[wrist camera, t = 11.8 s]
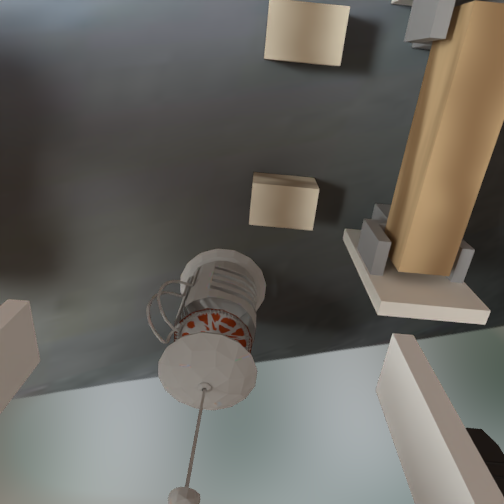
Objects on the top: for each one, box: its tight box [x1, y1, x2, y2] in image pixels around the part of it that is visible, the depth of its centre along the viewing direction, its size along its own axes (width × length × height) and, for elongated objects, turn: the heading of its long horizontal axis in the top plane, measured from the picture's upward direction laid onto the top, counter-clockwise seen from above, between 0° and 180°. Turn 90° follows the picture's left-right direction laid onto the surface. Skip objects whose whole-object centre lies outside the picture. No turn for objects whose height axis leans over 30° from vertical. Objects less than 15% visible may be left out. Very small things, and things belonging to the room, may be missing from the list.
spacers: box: [249, 0, 350, 231], centre depth 35 cm, size 6×18×4 cm, turn 175°
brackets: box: [343, 0, 504, 325], centre depth 30 cm, size 8×22×14 cm, turn 175°
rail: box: [384, 0, 504, 276], centre depth 29 cm, size 4×18×5 cm, turn 175°
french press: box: [146, 249, 266, 504], centre depth 33 cm, size 10×12×25 cm
